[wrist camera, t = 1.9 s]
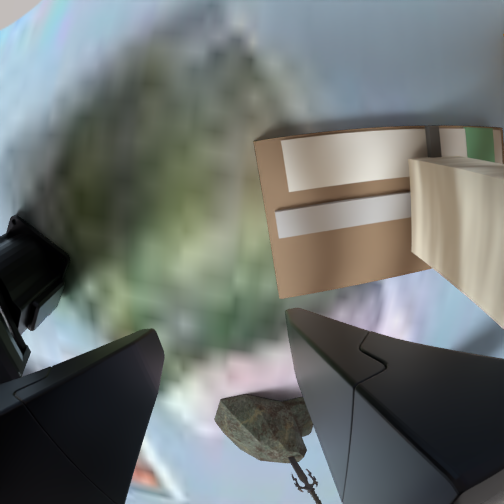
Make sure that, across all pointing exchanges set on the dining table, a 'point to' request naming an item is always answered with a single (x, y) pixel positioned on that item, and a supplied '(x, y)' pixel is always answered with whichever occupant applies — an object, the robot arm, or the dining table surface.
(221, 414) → the sword in stone
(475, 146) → the gauge board
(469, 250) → the slider block
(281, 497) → the dining table surface
